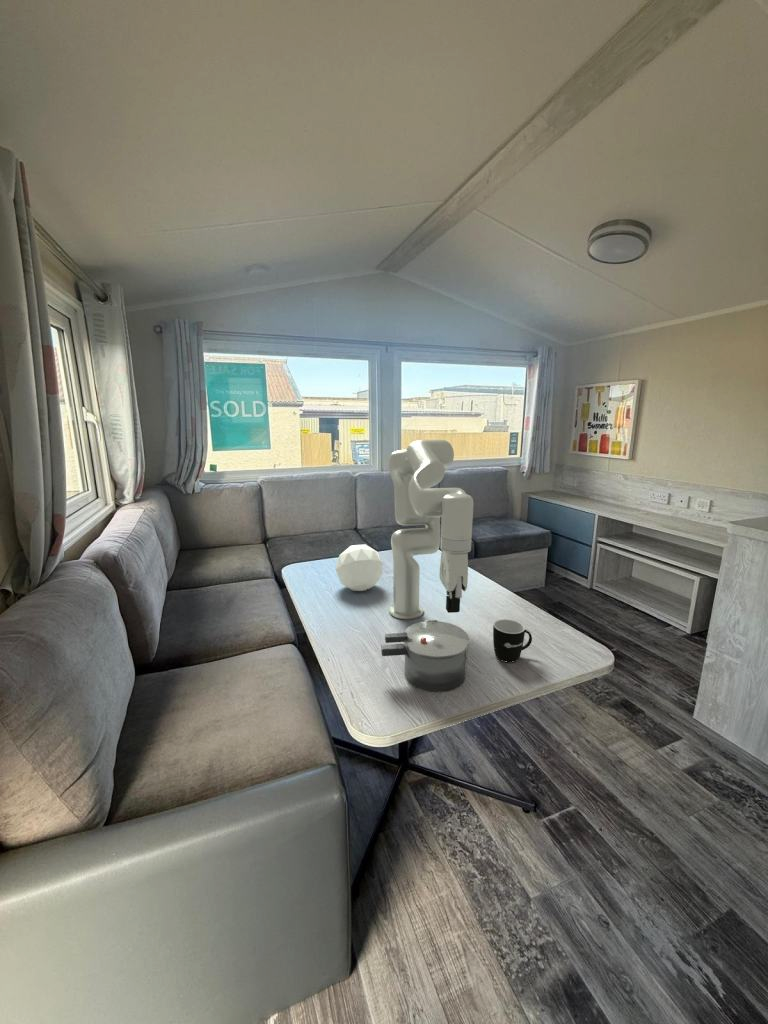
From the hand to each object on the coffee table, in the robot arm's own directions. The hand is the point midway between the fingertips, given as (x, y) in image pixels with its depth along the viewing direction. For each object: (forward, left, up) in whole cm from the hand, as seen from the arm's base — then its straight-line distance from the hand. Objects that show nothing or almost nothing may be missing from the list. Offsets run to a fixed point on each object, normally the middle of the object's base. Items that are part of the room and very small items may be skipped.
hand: (452, 610), depth 109 cm
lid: (-6, -5, -11) cm, 14 cm away
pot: (-6, -6, -21) cm, 23 cm away
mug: (-12, +22, -22) cm, 33 cm away
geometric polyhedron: (-69, -21, -22) cm, 75 cm away
